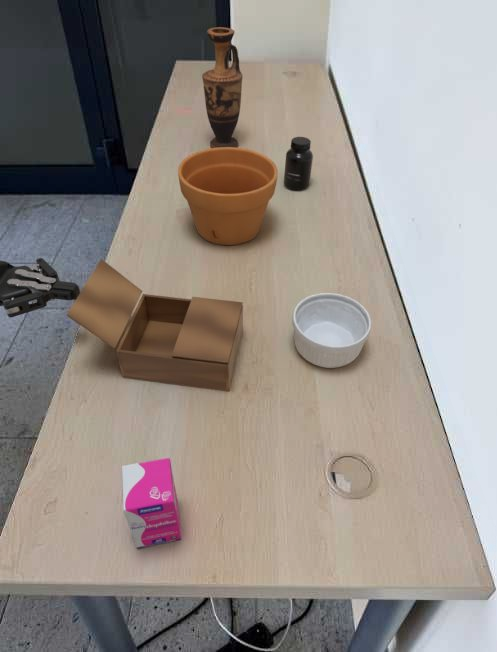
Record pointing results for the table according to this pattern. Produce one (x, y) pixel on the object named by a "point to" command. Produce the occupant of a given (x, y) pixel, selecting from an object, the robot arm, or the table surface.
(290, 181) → the supplement bottle
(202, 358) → the carton
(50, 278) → the robot arm
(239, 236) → the flower pot
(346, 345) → the ramekin
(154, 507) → the supplement box
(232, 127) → the vase
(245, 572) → the table surface
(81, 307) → the flap
